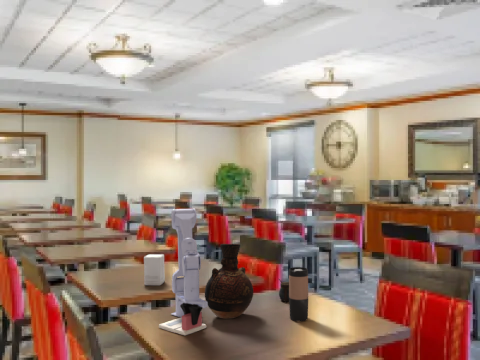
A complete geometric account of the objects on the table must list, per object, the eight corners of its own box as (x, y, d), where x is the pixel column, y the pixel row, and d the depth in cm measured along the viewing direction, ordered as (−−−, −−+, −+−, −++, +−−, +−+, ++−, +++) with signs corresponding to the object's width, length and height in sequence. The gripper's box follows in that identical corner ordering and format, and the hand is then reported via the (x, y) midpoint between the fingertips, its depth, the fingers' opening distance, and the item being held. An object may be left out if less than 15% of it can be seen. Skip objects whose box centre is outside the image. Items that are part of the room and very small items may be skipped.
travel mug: (306, 315, 191) (306, 266, 191) (310, 321, 183) (309, 270, 183) (288, 315, 191) (287, 267, 190) (290, 321, 183) (290, 271, 183)
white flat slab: (180, 320, 186) (180, 317, 186) (196, 325, 180) (196, 321, 180) (158, 327, 177) (158, 324, 177) (174, 332, 171) (174, 329, 171)
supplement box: (165, 281, 253) (164, 254, 253) (160, 285, 244) (160, 257, 244) (148, 281, 254) (148, 254, 254) (143, 285, 245) (143, 256, 245)
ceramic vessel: (216, 326, 178) (215, 248, 178) (196, 314, 193) (196, 242, 193) (262, 317, 189) (261, 243, 188) (240, 307, 204) (240, 238, 203)
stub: (196, 324, 180) (196, 308, 179) (206, 327, 176) (206, 311, 176) (175, 332, 171) (175, 315, 171) (184, 335, 168) (184, 318, 168)
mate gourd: (294, 303, 209) (293, 280, 209) (277, 302, 211) (276, 280, 211) (295, 298, 216) (295, 277, 216) (279, 298, 218) (278, 276, 218)
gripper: (170, 286, 175) (170, 322, 175) (197, 292, 165) (198, 330, 166) (184, 282, 180) (184, 317, 180) (211, 288, 171) (211, 325, 171)
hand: (191, 323), depth 173 cm, fingers closed on stub, 2 cm apart
